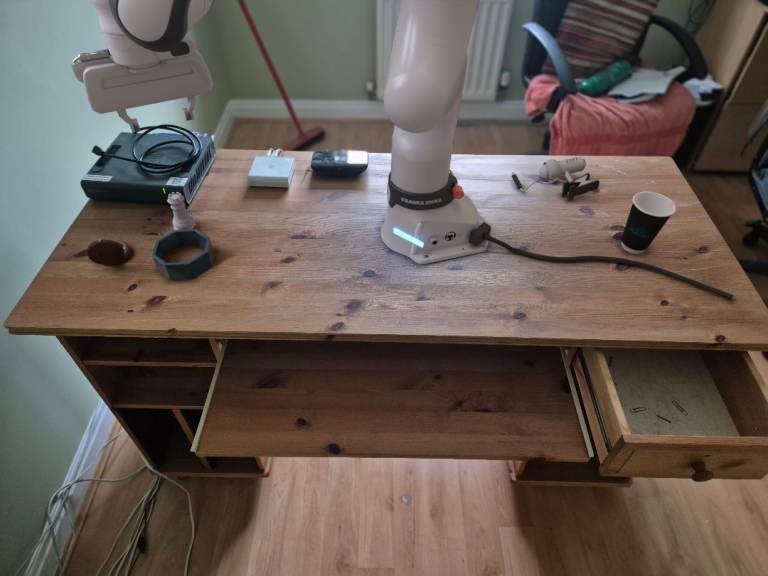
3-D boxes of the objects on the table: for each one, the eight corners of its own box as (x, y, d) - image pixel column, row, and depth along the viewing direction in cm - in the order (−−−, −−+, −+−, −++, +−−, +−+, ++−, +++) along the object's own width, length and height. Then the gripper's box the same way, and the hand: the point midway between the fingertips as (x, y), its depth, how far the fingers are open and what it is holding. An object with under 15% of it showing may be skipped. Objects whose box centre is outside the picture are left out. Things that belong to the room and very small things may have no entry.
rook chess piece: (200, 223, 106) (190, 192, 100) (186, 235, 103) (175, 204, 98) (183, 218, 107) (173, 186, 102) (169, 229, 105) (157, 198, 99)
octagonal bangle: (216, 243, 102) (212, 227, 99) (210, 278, 95) (205, 262, 92) (164, 246, 101) (158, 230, 98) (154, 281, 94) (148, 266, 91)
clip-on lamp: (521, 213, 116) (599, 196, 115) (522, 193, 111) (603, 175, 110) (507, 180, 123) (581, 164, 122) (508, 160, 118) (584, 142, 117)
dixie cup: (621, 259, 101) (642, 215, 93) (607, 234, 107) (626, 191, 99) (659, 258, 102) (683, 215, 94) (644, 233, 107) (665, 191, 99)
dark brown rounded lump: (131, 242, 102) (118, 213, 96) (130, 268, 96) (116, 239, 91) (88, 249, 100) (73, 221, 94) (85, 276, 94) (69, 247, 89)
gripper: (68, 63, 75) (104, 145, 85) (204, 41, 82) (223, 120, 92) (65, 48, 79) (100, 129, 89) (195, 29, 86) (214, 106, 96)
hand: (163, 124), depth 90 cm, fingers open, 8 cm apart
